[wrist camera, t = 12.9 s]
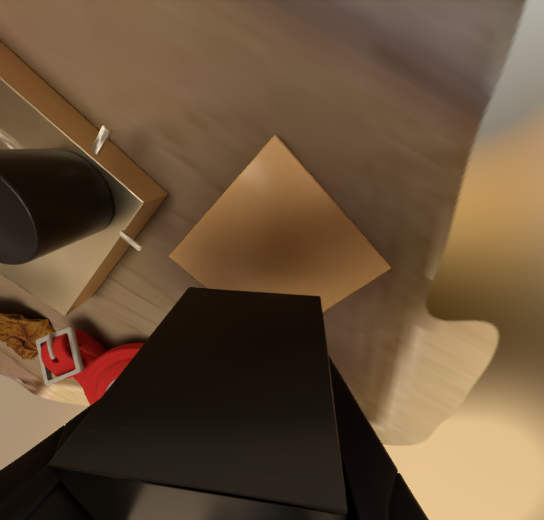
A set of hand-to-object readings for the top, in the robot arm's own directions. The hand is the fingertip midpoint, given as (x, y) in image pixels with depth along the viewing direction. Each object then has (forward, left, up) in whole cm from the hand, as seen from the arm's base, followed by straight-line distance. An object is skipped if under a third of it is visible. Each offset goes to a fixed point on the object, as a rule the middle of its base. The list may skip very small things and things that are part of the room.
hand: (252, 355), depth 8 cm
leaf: (+11, +23, -8) cm, 27 cm away
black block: (0, 0, -1) cm, 1 cm away
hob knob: (+11, +4, -6) cm, 13 cm away
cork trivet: (0, 0, -8) cm, 8 cm away
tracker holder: (+2, +18, -8) cm, 20 cm away
